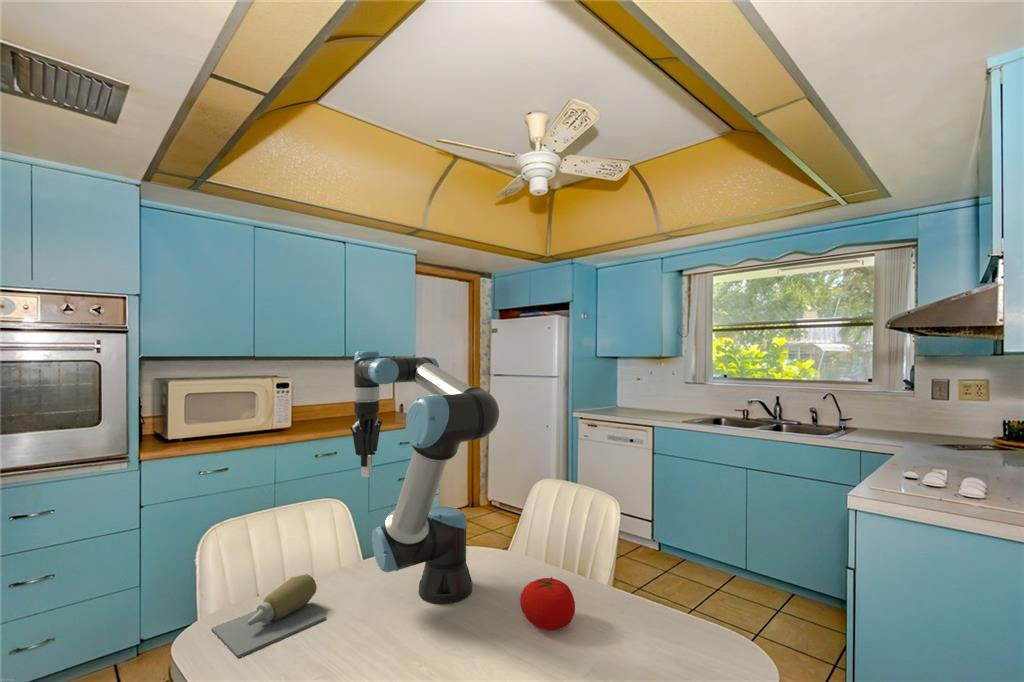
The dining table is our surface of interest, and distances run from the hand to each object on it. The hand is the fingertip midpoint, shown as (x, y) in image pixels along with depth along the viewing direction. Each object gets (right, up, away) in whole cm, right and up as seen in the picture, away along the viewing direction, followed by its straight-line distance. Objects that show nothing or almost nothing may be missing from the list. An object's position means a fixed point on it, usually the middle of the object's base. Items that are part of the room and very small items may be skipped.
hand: (366, 476), depth 154 cm
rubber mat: (-15, -29, -30) cm, 45 cm away
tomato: (+54, -29, -29) cm, 68 cm away
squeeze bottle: (-10, -24, -19) cm, 32 cm away
